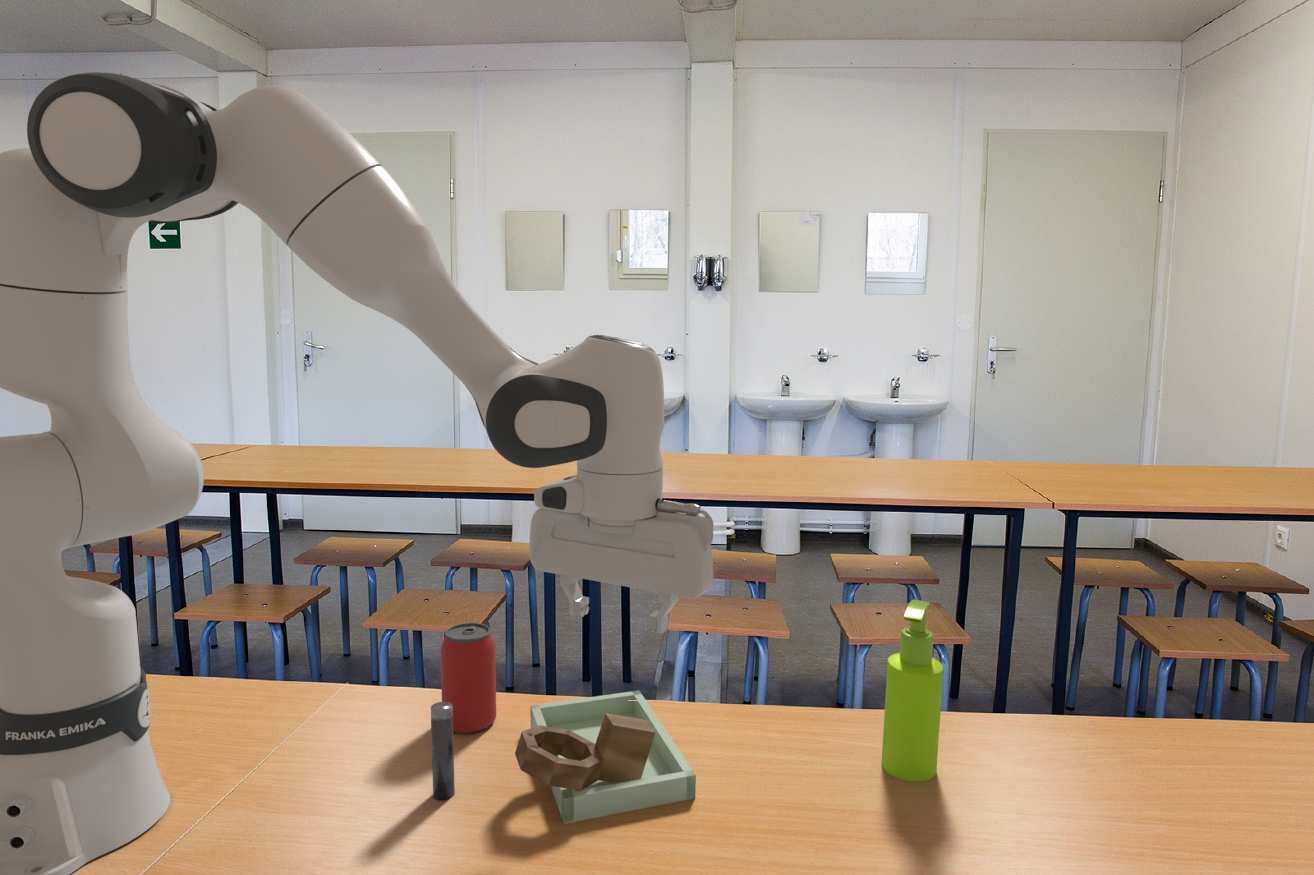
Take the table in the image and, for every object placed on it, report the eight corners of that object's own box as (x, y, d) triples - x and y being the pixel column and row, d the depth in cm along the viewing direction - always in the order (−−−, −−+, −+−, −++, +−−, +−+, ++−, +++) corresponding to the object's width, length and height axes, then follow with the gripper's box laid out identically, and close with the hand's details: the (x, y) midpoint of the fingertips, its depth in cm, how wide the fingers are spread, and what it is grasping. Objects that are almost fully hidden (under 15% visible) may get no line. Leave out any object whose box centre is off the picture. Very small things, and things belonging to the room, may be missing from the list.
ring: (511, 742, 84) (528, 689, 84) (622, 760, 89) (638, 710, 89) (524, 782, 76) (543, 723, 76) (646, 799, 81) (664, 744, 81)
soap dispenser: (874, 783, 86) (884, 609, 83) (887, 753, 92) (896, 590, 89) (929, 799, 83) (942, 619, 80) (939, 767, 89) (951, 599, 86)
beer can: (502, 711, 101) (501, 622, 99) (486, 737, 94) (485, 642, 92) (453, 708, 101) (451, 619, 100) (434, 734, 95) (431, 640, 93)
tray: (563, 827, 77) (563, 798, 77) (530, 729, 96) (530, 705, 96) (695, 802, 82) (695, 775, 81) (638, 713, 101) (639, 690, 100)
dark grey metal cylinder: (433, 803, 81) (431, 713, 80) (432, 791, 83) (430, 703, 82) (455, 799, 82) (453, 710, 80) (453, 788, 84) (451, 700, 82)
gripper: (725, 500, 79) (720, 630, 81) (553, 479, 87) (553, 597, 89) (701, 513, 73) (697, 652, 75) (520, 489, 82) (521, 615, 84)
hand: (617, 622), depth 82 cm, fingers open, 8 cm apart
